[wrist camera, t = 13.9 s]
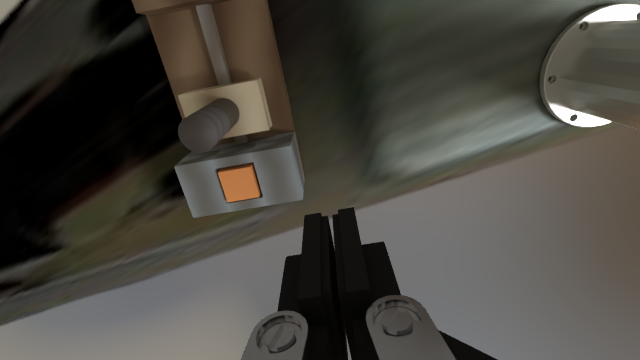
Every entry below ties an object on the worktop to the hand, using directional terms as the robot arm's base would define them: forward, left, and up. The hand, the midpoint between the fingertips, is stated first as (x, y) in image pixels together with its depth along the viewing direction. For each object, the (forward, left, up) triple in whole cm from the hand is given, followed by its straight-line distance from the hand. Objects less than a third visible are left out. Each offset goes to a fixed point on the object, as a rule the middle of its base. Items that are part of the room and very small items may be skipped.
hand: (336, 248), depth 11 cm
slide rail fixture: (+10, -3, -29) cm, 31 cm away
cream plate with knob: (+10, -1, -26) cm, 28 cm away
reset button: (+10, +5, -25) cm, 27 cm away
